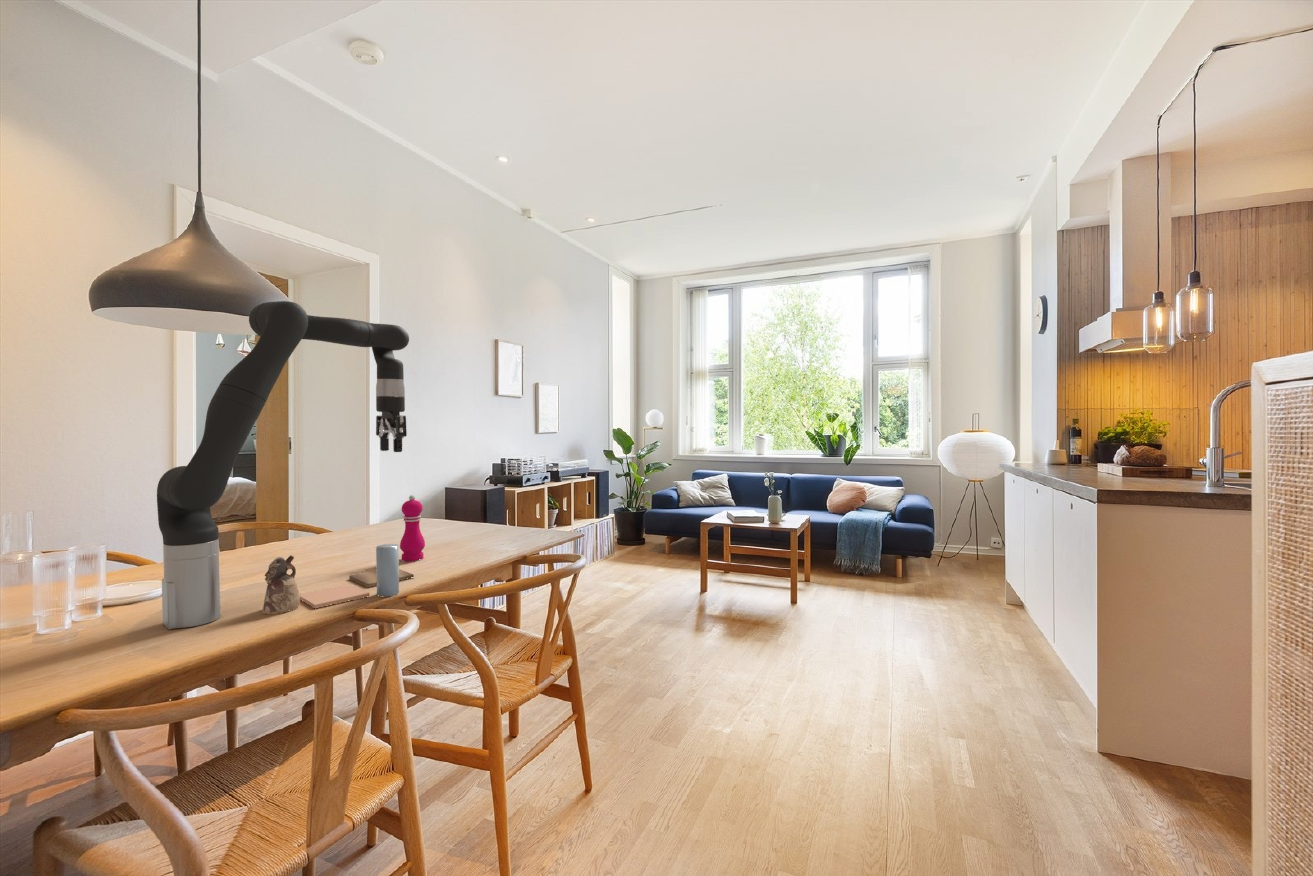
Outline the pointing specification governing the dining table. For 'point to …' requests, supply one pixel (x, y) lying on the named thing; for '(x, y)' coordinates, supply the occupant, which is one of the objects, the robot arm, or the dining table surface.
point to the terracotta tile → (333, 595)
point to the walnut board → (375, 577)
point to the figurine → (281, 587)
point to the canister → (387, 569)
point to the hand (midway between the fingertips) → (391, 451)
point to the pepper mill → (412, 531)
